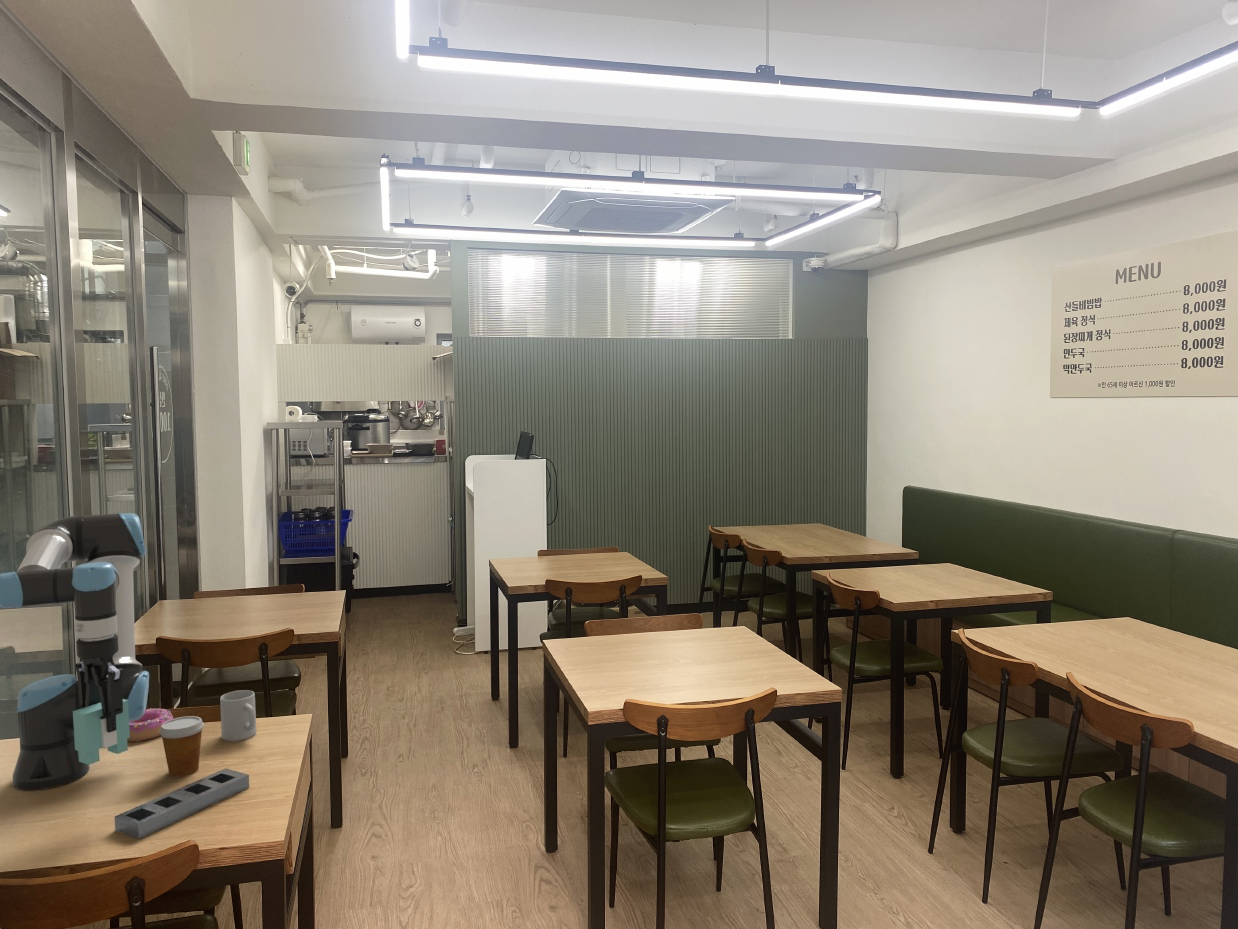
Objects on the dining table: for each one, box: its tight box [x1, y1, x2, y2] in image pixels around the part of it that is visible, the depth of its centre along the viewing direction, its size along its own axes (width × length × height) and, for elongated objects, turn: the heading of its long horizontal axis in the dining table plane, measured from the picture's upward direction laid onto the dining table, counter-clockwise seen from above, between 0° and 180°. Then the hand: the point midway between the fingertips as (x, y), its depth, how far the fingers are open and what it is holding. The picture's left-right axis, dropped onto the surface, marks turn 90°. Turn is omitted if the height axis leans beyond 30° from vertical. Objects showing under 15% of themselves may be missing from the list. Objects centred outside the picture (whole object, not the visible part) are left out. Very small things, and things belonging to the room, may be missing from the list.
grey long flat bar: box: [114, 767, 250, 840], centre depth 181 cm, size 8×26×3 cm, turn 152°
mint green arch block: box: [73, 699, 130, 766], centre depth 177 cm, size 4×9×11 cm, turn 152°
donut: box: [127, 707, 174, 743], centre depth 225 cm, size 14×14×5 cm
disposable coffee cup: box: [159, 715, 205, 778], centre depth 200 cm, size 10×10×12 cm
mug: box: [219, 689, 257, 742], centre depth 221 cm, size 12×8×11 cm
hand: (103, 743), depth 178 cm, fingers closed on mint green arch block, 4 cm apart
